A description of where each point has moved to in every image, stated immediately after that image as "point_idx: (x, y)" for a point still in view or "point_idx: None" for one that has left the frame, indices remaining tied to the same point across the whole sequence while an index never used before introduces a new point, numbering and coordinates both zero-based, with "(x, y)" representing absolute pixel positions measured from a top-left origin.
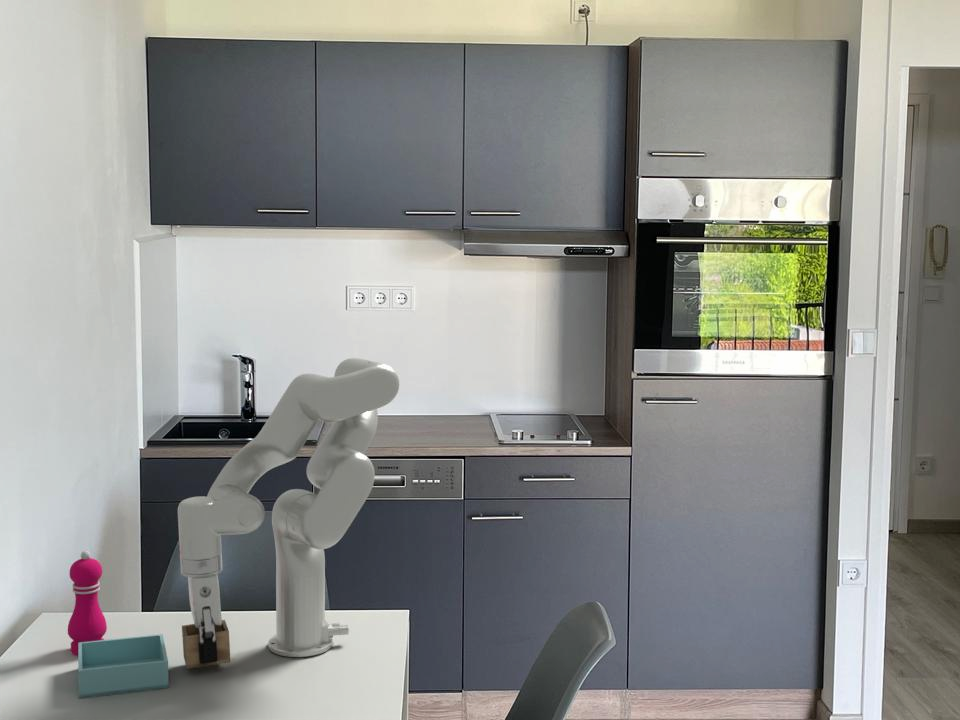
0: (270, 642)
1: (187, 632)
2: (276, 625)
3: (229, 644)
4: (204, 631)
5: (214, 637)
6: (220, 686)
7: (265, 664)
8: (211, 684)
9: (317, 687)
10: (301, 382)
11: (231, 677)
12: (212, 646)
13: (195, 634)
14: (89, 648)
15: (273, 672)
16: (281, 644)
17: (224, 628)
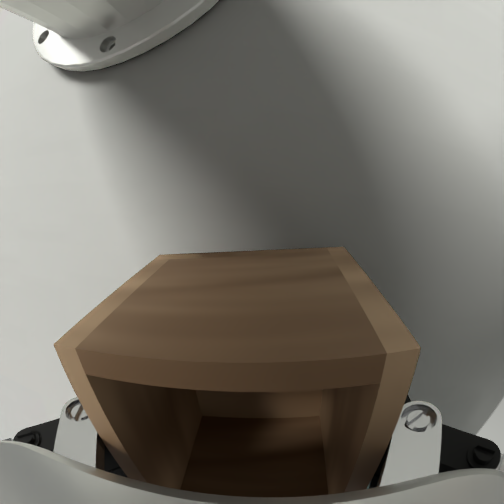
0: (94, 55)
1: (178, 485)
2: (54, 8)
3: (375, 286)
4: (154, 429)
5: (438, 430)
6: (454, 286)
7: (281, 73)
8: (427, 317)
9: (489, 3)
10: None
11: (395, 238)
12: (409, 398)
13: (171, 451)
14: None
15: (379, 59)
16: (150, 2)
17: (302, 389)
